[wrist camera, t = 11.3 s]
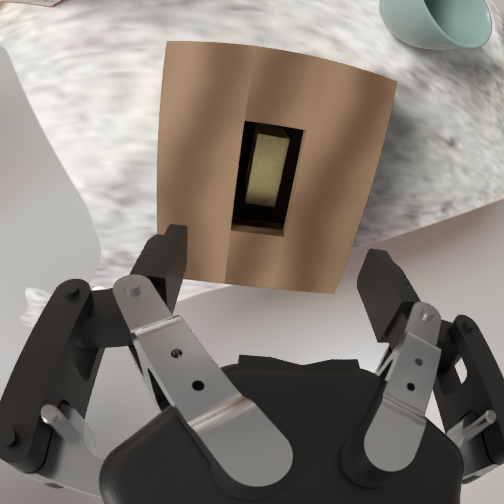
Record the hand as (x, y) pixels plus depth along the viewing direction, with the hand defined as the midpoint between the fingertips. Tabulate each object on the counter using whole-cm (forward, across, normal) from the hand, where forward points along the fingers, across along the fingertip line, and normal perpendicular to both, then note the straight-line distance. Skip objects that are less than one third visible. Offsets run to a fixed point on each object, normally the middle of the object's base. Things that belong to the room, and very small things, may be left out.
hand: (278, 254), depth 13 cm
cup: (+19, -12, -18) cm, 29 cm away
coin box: (+18, 0, 0) cm, 18 cm away
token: (+18, 0, 0) cm, 19 cm away
